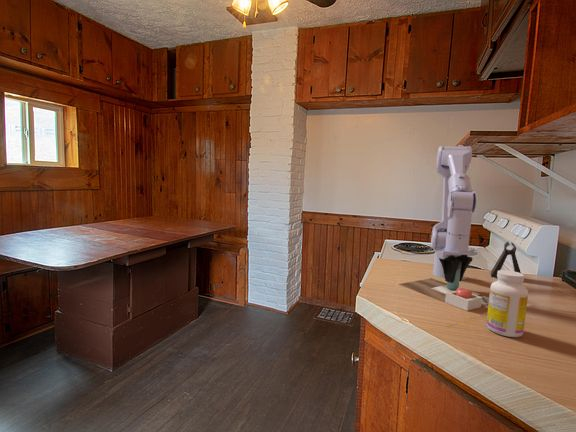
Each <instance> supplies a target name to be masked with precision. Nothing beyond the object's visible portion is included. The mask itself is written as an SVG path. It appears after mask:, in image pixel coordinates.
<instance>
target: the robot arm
mask: <svg viewBox="0 0 576 432" xmlns="http://www.w3.org/2000/svg"><path fill="white" fill-rule="evenodd" d="M472 158H473V148H472V147H471V145H469V146H453V145H451V146H450V145H449V146H448V145H446V146H443V145H440V146H439V147H438V148H437V153H436V172H437V173H438V174H439V175H440V176H441V177H442V182H443V183H442V184H443V185H442V206H441V207H442V208H441V221H440V222H438V223H436V224H435V225H434V226H433V227H432V229H431V230H432V231H431V239H430V248H432V250H434V258H433V268H432V275H433V276H435V277H438V278H441V279H444V281H445V282H446V283H447V282H450V283H453V282H454V280H455V275H456V271H457V268H458V266H459V264H460V262H461V261H462V266H461V271H460V280H459V282H462V281H463V280H466V276H465V277H464V275H465V272H466V270H467V268H468V267H469V265H470V264H471V263H472V262H473V257H471V256H474V255H475V247H474V248H473V247H470V246H469V243H470V237H471V226H472V218H473V213H474V212H475V210H476V207H477V201H478V200H477V193H476V191H475V190H474V189H472V184H471V178H470V176H469V175H468V174H467V172H468V170H469V167H470V164H471V162H472Z"/></svg>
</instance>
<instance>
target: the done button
mask: <svg viewBox="0 0 576 432" xmlns="http://www.w3.org/2000/svg"><path fill="white" fill-rule="evenodd" d="M472 292H473V291H472V290H470V289H468V288H462V287H460V288H457V291H456V295H457V296H460V297H462V298H465V299H470V298H472Z"/></svg>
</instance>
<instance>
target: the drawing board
mask: <svg viewBox="0 0 576 432" xmlns="http://www.w3.org/2000/svg"><path fill="white" fill-rule="evenodd" d="M397 285H399V286H400V287H404V288H406V289H409V290H411V291H415V292H417V293H420V294H422V295H424V296H427V297H429V298H432V299H434V300H437V301H440V302H442V303H445V304H448V303H446V302H445V297H446V293H447V292H452V291H456V290H453V289H449V288H447V282H444V281H441V280H437V279H434V278H432V277H431V278H425V279H419V280H414V281H408V282H403V283H402V282H401V283H397ZM459 288H461V287H460V286H459ZM472 294H474V295H477V296H480V297H482V304H481V307H479V308H476V309H472V310H469V311H473V310H477V309H481V308H484V307H488V304H489V296H486V295H483V294H481V293H478V292H475V291H472ZM448 305H451V304H448ZM451 306H453V305H451ZM453 307H456V306H453ZM456 308H457V309H460V310H463V311H466V310H464V309H461V308H458V307H456ZM469 311H468V312H469ZM466 312H467V311H466Z"/></svg>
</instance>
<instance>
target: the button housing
mask: <svg viewBox="0 0 576 432" xmlns="http://www.w3.org/2000/svg"><path fill="white" fill-rule="evenodd" d="M456 291H457V290H456ZM456 291H452V292H447V293H446V297H445V302H446V303H445V302H444V303H445V304H447V303H448V305H450V304H451V306H452V305H453V307H455V306H456V308H457V307H458V308H457V309H460V308H461V309H460V310H463V309H464V310H463V311H465V310H466V312H469V310H470V311H473V310H472V309H474V310H477V309H480V308H479V307H481V304H482V297H480V296H477V295H474V294H472V298H470V299H465V298H462V297H460V296H457V295H456ZM476 308H477V309H476ZM481 308H482V307H481Z"/></svg>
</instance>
